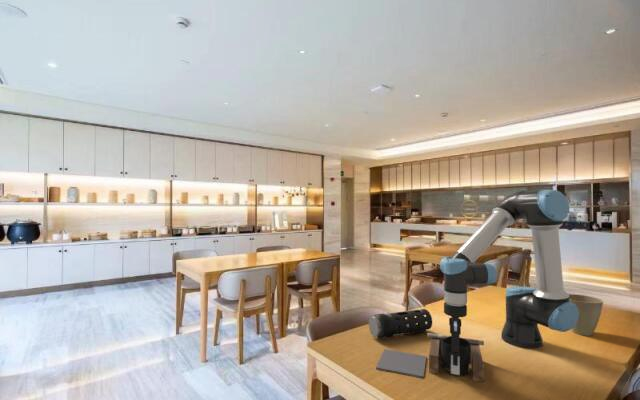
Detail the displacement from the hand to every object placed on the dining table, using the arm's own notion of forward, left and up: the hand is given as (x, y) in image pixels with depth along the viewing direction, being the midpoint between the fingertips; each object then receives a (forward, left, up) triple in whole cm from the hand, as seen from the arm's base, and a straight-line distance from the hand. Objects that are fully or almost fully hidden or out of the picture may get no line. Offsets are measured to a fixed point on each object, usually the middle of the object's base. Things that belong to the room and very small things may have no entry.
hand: (454, 367), depth 116 cm
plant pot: (-55, -60, -1) cm, 81 cm away
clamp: (0, -3, -1) cm, 4 cm away
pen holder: (0, 0, -1) cm, 1 cm away
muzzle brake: (+22, -25, -1) cm, 33 cm away
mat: (+18, +2, -1) cm, 18 cm away
